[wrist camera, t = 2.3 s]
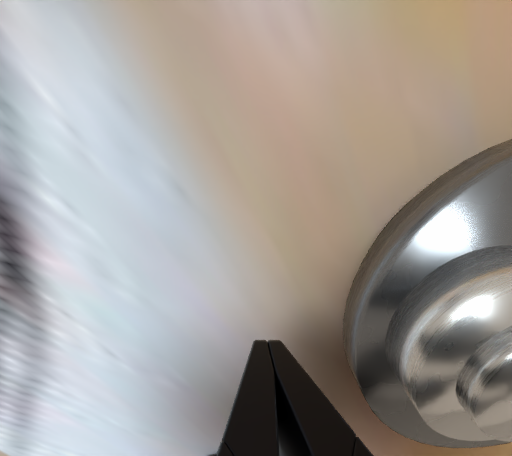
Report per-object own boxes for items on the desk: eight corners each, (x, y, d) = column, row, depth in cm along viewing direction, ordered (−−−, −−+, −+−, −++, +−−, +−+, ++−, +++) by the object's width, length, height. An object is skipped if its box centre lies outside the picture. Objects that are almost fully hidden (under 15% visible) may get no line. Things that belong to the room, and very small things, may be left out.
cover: (513, 390, 13) (587, 461, 10) (365, 392, 12) (403, 470, 9) (599, 249, 10) (728, 298, 7) (416, 239, 9) (490, 290, 7)
